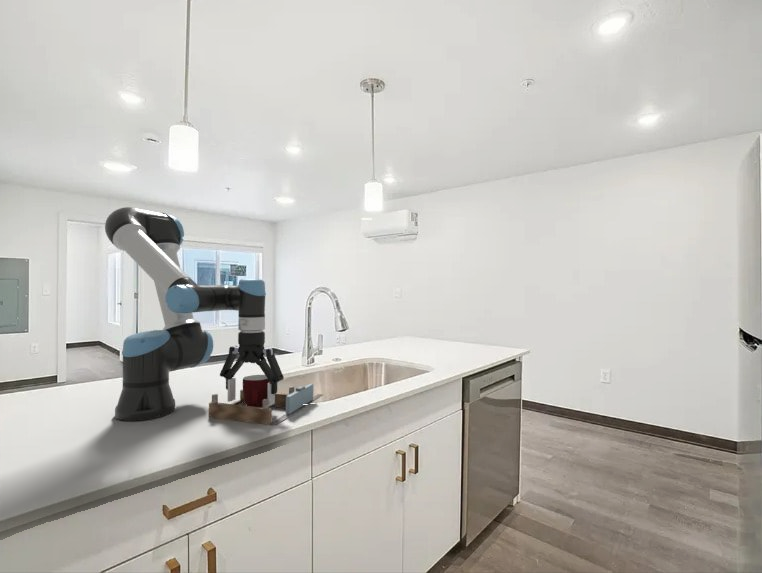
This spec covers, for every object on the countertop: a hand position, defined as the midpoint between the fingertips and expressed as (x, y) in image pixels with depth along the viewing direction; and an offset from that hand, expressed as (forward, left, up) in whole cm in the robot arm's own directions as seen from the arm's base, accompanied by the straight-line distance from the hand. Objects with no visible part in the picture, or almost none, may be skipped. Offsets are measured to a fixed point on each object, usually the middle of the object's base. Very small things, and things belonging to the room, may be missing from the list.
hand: (251, 402), depth 115 cm
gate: (+12, +8, -2) cm, 15 cm away
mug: (+2, 0, -3) cm, 3 cm away
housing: (+2, +7, -3) cm, 8 cm away
